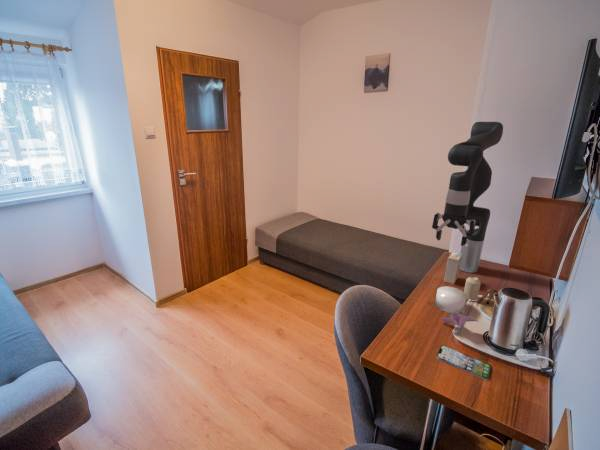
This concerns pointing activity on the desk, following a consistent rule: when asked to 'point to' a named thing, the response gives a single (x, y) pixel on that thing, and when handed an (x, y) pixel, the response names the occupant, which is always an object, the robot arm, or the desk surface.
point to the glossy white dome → (450, 299)
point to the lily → (458, 319)
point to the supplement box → (452, 268)
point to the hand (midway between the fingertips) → (450, 242)
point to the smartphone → (464, 362)
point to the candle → (472, 288)
